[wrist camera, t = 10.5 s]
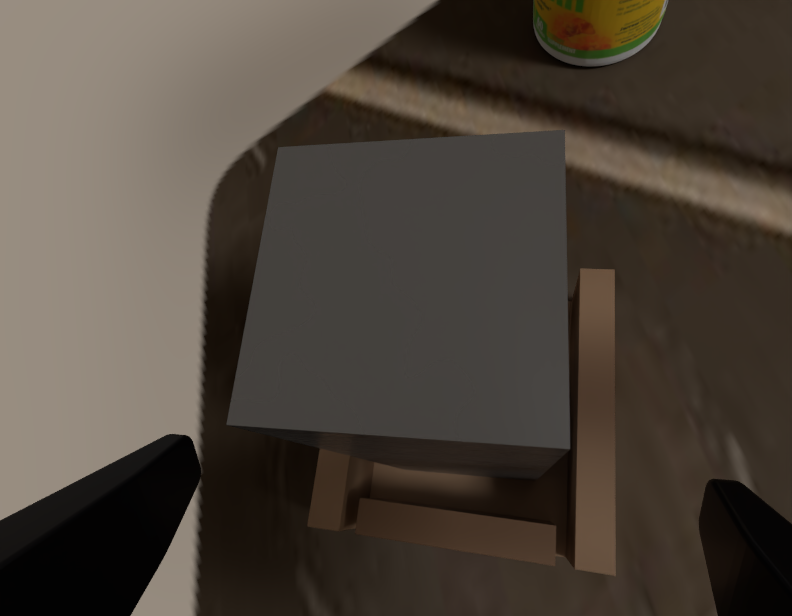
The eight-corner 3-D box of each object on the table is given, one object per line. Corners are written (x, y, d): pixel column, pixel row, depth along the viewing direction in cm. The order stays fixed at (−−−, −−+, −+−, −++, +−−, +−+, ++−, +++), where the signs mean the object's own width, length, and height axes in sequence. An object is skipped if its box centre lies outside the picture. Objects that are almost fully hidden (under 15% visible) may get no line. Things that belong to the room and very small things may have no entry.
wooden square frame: (596, 560, 17) (616, 576, 14) (343, 521, 19) (307, 526, 16) (598, 308, 20) (614, 269, 16) (376, 297, 22) (350, 262, 18)
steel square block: (535, 481, 18) (570, 449, 6) (405, 469, 19) (226, 424, 7) (535, 352, 19) (564, 130, 7) (415, 348, 20) (278, 147, 8)
